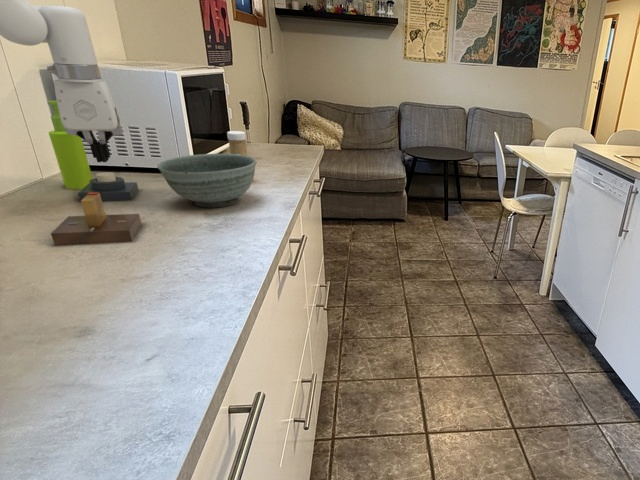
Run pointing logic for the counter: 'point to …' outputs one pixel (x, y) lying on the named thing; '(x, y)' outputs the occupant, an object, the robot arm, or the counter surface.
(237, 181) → the bowl
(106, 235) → the plate
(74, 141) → the soap dispenser
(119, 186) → the block
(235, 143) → the sprinkles bottle
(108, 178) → the bell button
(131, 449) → the counter surface
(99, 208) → the tan wooden block
